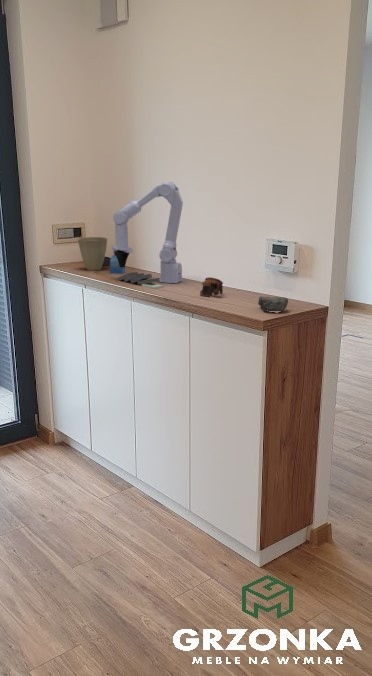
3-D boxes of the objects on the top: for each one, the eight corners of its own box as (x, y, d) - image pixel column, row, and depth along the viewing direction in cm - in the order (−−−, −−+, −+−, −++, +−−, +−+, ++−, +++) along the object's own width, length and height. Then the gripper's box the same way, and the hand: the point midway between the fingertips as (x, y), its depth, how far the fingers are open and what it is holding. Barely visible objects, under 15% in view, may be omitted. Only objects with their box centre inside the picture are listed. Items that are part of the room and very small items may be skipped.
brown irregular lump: (194, 295, 242) (199, 277, 243) (212, 304, 246) (217, 285, 248) (210, 293, 231) (215, 273, 233) (228, 301, 236) (234, 282, 237)
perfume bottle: (124, 271, 299) (124, 248, 295) (122, 273, 293) (121, 249, 289) (112, 271, 299) (112, 247, 296) (110, 273, 293) (109, 249, 290)
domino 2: (123, 278, 269) (134, 274, 262) (133, 277, 273) (143, 273, 265) (124, 282, 269) (135, 277, 262) (133, 280, 272) (144, 276, 265)
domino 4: (137, 281, 262) (150, 278, 256) (145, 280, 266) (159, 277, 259) (137, 284, 262) (151, 282, 256) (146, 283, 266) (159, 281, 260)
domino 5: (141, 284, 259) (154, 286, 253) (150, 282, 263) (163, 285, 256) (141, 287, 260) (154, 290, 253) (150, 286, 263) (163, 289, 256)
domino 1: (118, 277, 273) (128, 273, 266) (127, 276, 276) (137, 271, 269) (119, 280, 273) (129, 276, 266) (128, 279, 276) (138, 275, 269)
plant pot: (77, 268, 310) (76, 237, 306) (105, 266, 314) (104, 236, 310) (81, 272, 296) (79, 240, 292) (110, 271, 300) (109, 239, 296)
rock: (293, 311, 212) (293, 297, 211) (274, 315, 206) (274, 301, 205) (267, 305, 222) (268, 292, 220) (248, 309, 216) (249, 295, 214)
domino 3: (130, 280, 265) (142, 274, 259) (138, 278, 269) (151, 273, 262) (131, 283, 265) (143, 278, 259) (139, 282, 269) (152, 277, 262)
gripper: (105, 236, 273) (106, 266, 277) (122, 239, 262) (123, 269, 266) (118, 236, 277) (119, 264, 281) (136, 238, 267) (136, 268, 270)
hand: (122, 267), depth 274 cm, fingers closed
